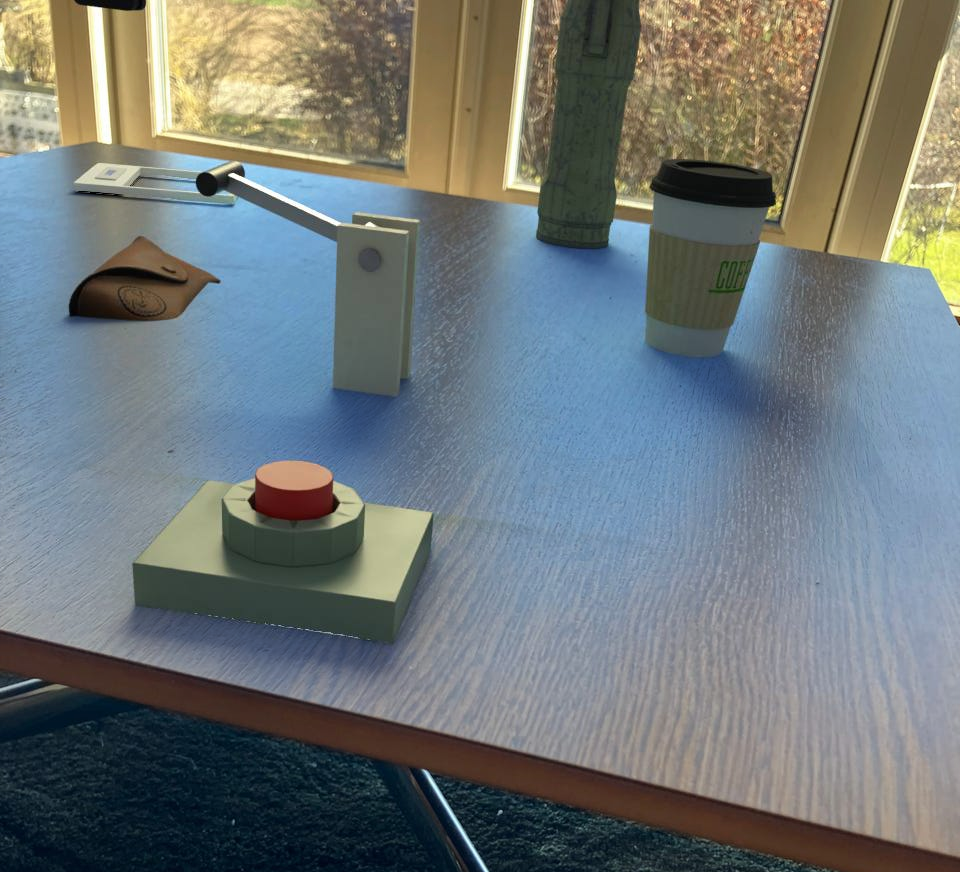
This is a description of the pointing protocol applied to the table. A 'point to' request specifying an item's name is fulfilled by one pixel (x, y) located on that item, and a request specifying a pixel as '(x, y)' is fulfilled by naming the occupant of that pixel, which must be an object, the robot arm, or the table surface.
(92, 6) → the robot arm
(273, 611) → the control block
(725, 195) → the coffee cup
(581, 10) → the thermos
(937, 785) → the table surface
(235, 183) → the lever
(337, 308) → the bracket
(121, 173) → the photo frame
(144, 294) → the sunglasses case
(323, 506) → the button
